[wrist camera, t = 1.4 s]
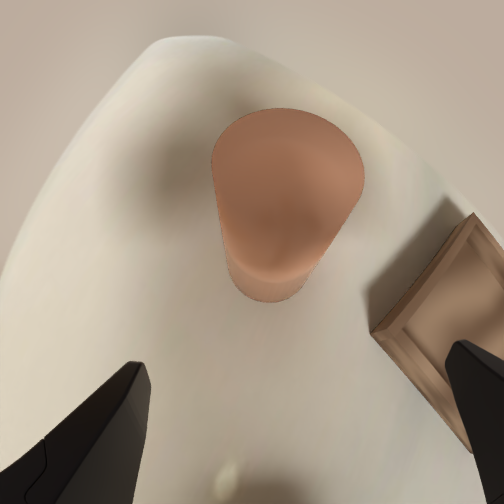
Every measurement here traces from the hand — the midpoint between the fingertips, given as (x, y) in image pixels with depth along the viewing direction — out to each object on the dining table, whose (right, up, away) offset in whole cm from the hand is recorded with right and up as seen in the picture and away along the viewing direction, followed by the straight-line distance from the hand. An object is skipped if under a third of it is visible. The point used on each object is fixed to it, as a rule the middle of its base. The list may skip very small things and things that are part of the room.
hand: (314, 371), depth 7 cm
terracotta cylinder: (0, +2, +15) cm, 15 cm away
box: (+17, -4, +13) cm, 22 cm away
